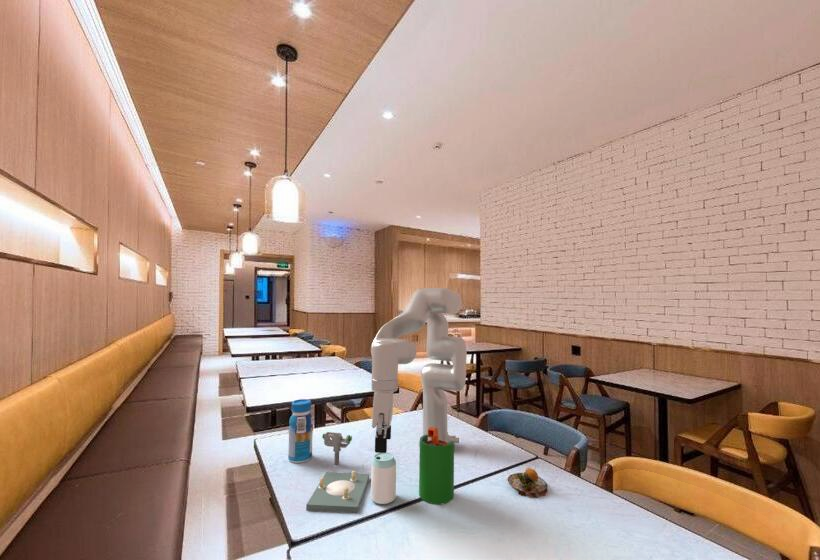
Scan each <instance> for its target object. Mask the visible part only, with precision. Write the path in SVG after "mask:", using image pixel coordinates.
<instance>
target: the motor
mask: <svg viewBox="0 0 820 560" xmlns="http://www.w3.org/2000/svg"><path fill="white" fill-rule="evenodd" d="M428 437H431V440H430V441H428ZM419 441H420V447H419V462H418V464H419V469H418V470H419V471H418V472H419V475H418V477H419V478H418V479H419V480H418V484H419V485H418V496H419V499H421V500H422V501H424V502H426V503H428V504H434V505H442V504H447V503H450V502H451V501H453V499H454V497H455V489H454V488H455V484H454V483H455V443H454V441H452V442H450V443H449V444H448V443H447V442H445V441H442V440H439V436H438V429H437V428H434V427H430V428H429V429H428V435H427V434H426V435H423V434H422V435H421V437H420V438H419Z"/></svg>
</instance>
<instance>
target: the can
mask: <svg viewBox="0 0 820 560" xmlns="http://www.w3.org/2000/svg"><path fill="white" fill-rule="evenodd" d="M370 466H371V474H370V475H371V476H370V477H371V479H370V480H371V482H370V484H371V485H370V498H371V500H372V501H373V502H374V503H376V504H377V505H381V504H385V505H388V503H389V504H391V503H392V502H393V501H394V500H396V498H397V497H396V496H397V485H396V484H397V460H396V459H395V455H394V454H393V453H391V452H386V453H376V454H374V455H373V458H372V460H371V465H370ZM390 502H391V503H390Z"/></svg>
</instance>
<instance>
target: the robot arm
mask: <svg viewBox="0 0 820 560" xmlns="http://www.w3.org/2000/svg"><path fill="white" fill-rule="evenodd" d="M462 304H463V301H462V297H461V295H460V293H459V292H458V291H455V290H453V289H452V290H451V289H448V288H443V287H423V288H418V289H417V290H414V292H413V294H412V296H411V297H410V299H409V301H408V303H407V305H406V307H405V308H404V310H403V311H402V313H400V314H399V315H397V316H395V317H394V318H392V319H391V320H389V321H388V322H386V323H384V325H382V326H381V328H379V330H378V332H377V333H376V335H375V337H374V339H373V341H372V343H371V346H370V354H371V357H372V359H371V391H372V392H373V401H372V414H371V415H372V417H371V418H372V419H371V428H373V429H375V428H376V429H375V438H374V452H375V453H376V454H377V453H386V452H387V450H388V449H387V448H388V440H391V439H392V433H391V432H392V424H391V423H392V420H393V412H394V393H395V392H397V391H398V381H399V379H398V378H399V377H398V376H399V375H398V374H399V373H398V372H399V365H408V364H410V363H412V362H413V361H414V360H415V359H416V357H417V352H418V351H417V346H416V344H415V343H414V342H413V341H412V340H410V339H404V338H399V337H402V336H405V335H408V334H412V333H415V332H418V331H421V330H422V329H423V328H424V327H425V325H427V330H426V348H425V349H426V350H425V351H426V356H427V358H428V359H431V360H435V361H444V362H451V363H452V364H445V363H435V362H434V363H433V362H430V363H427V364H425V365H423V367H422V368H421V371H420V380H421V385H422V436H423V435H426V434H427V435H428V429H429V428H430V427H434V428H437V429H438V436H439V440H442V441H445V442H447V443H448V444H449V443H450V442H452V441H454V444H460V437H456V435H450V434H449V432H448V398H447V395H446V394H445V392H444V391H453V392H460V391H462V390H464V388H465V386H466V380H467V379H466V378H467V377H466V376H467V355H468V354H467V344H466V342H465V340H464V339H463V338H461V337H459V336H449V321H448V319H447V317H446V316H445V315H444V314H450V315H452V314H453V315H454V314H458V313H459V312H460V310H461V309H462ZM430 440H431V437H428V441H430ZM418 446H419V448H420V440H418Z"/></svg>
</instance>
